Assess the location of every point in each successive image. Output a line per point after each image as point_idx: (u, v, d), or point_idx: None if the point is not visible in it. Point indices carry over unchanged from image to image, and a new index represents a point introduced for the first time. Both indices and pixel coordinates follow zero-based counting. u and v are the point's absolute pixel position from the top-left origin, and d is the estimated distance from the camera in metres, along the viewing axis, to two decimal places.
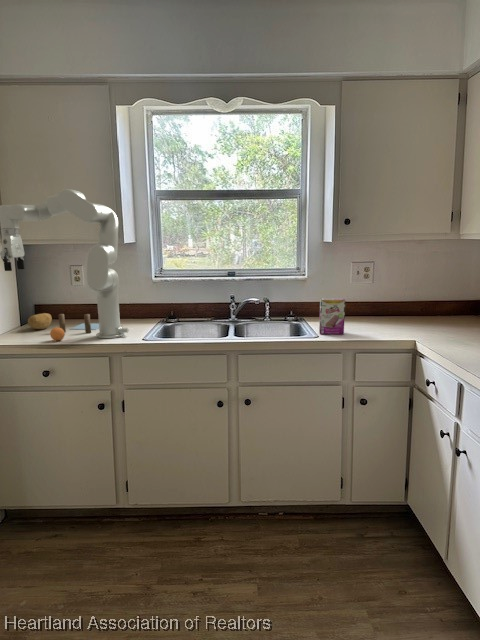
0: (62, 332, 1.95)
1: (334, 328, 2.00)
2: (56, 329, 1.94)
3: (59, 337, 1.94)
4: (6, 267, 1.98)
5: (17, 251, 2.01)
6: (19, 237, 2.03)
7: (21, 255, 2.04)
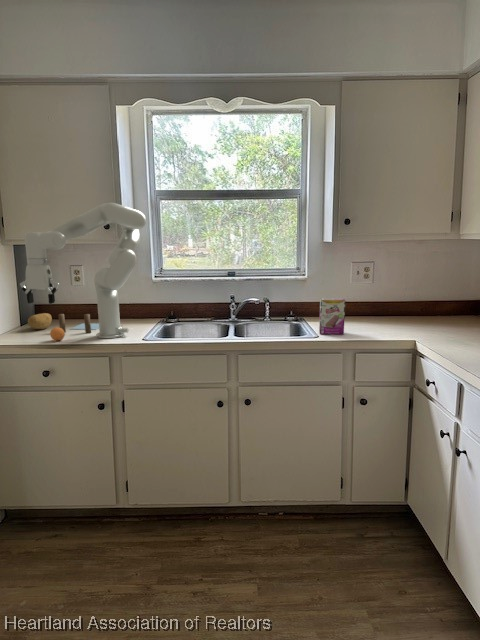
0: (62, 332, 1.95)
1: (334, 328, 2.00)
2: (56, 329, 1.94)
3: (59, 337, 1.94)
4: (53, 299, 1.83)
5: None
6: None
7: None
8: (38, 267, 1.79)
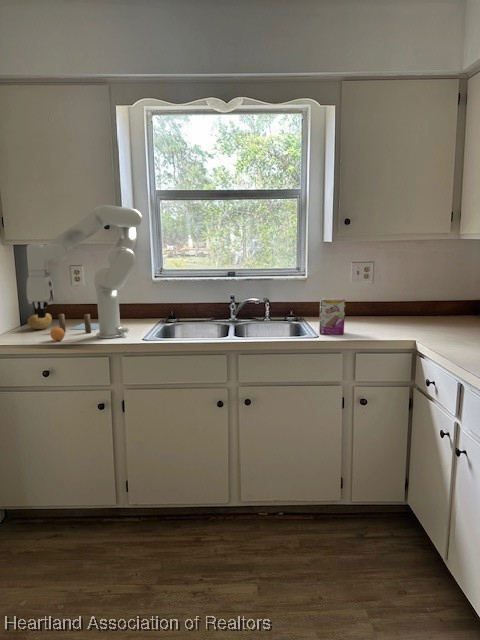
0: (62, 332, 1.95)
1: (334, 328, 2.00)
2: (56, 329, 1.94)
3: (59, 337, 1.94)
4: (44, 313, 1.84)
5: None
6: None
7: None
8: (39, 279, 1.79)
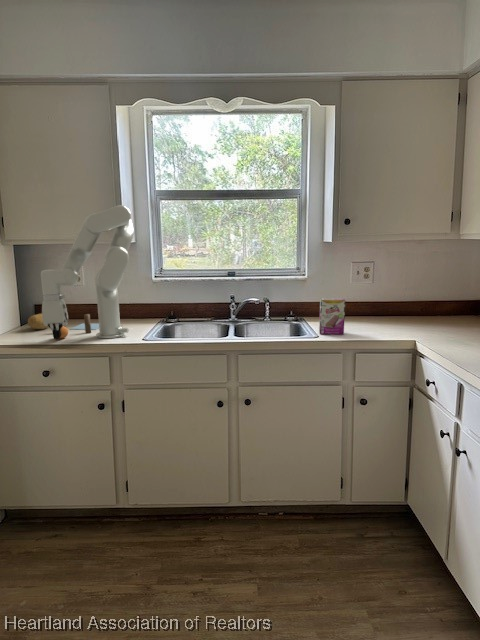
0: (66, 329, 1.99)
1: (334, 328, 2.00)
2: None
3: (62, 330, 1.97)
4: (60, 334, 1.95)
5: None
6: None
7: None
8: (54, 302, 1.90)
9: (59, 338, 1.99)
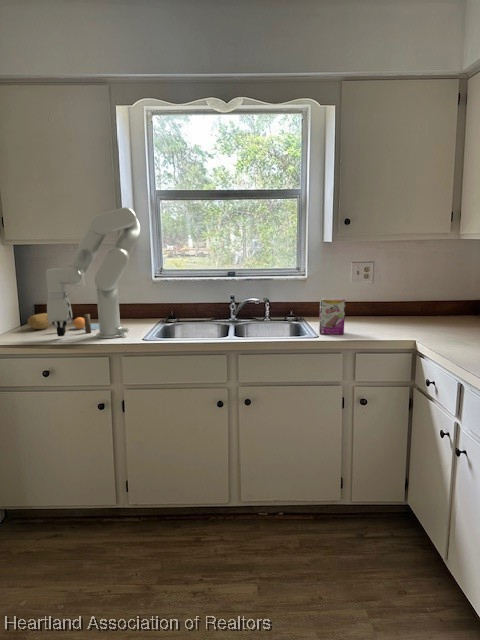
0: None
1: (334, 328, 2.00)
2: None
3: (82, 319, 2.18)
4: (63, 332, 1.99)
5: None
6: None
7: None
8: (59, 301, 1.93)
9: (77, 326, 2.17)
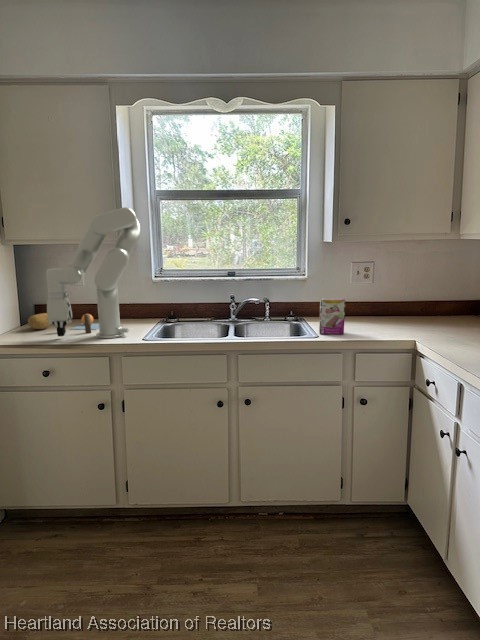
0: (91, 321, 2.28)
1: (334, 328, 2.00)
2: None
3: None
4: (63, 332, 1.99)
5: None
6: None
7: None
8: (59, 301, 1.93)
9: None
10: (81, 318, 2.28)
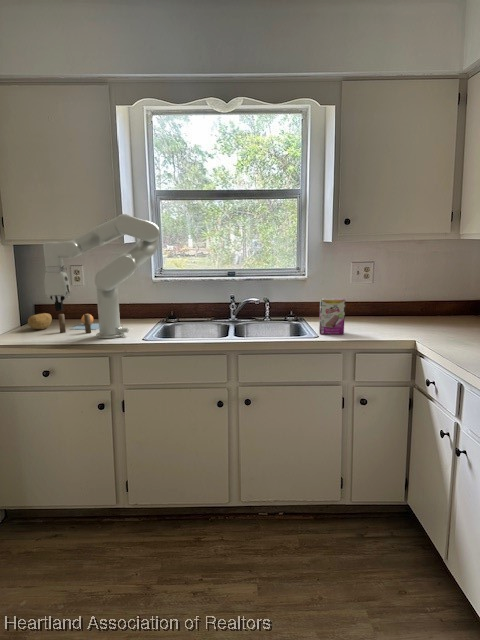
0: (91, 321, 2.28)
1: (334, 328, 2.00)
2: None
3: None
4: (62, 307, 1.96)
5: None
6: None
7: None
8: (56, 274, 1.91)
9: None
10: (81, 318, 2.28)
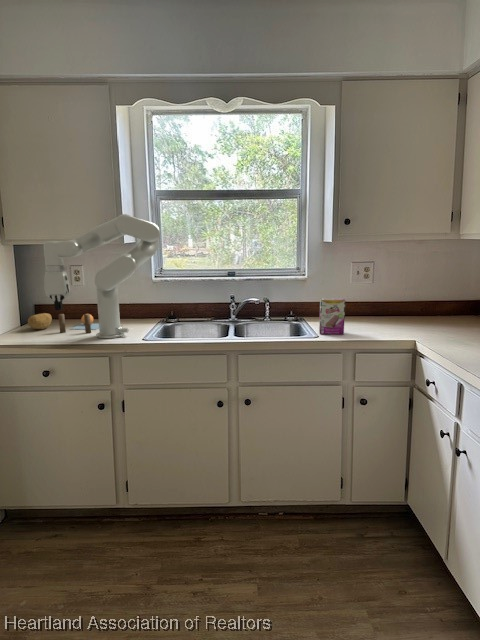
0: (91, 321, 2.28)
1: (334, 328, 2.00)
2: None
3: None
4: (61, 306, 1.96)
5: None
6: None
7: None
8: (56, 274, 1.91)
9: None
10: (81, 318, 2.28)
